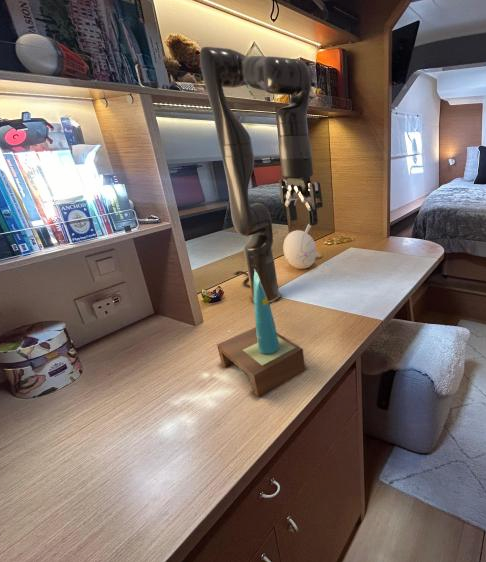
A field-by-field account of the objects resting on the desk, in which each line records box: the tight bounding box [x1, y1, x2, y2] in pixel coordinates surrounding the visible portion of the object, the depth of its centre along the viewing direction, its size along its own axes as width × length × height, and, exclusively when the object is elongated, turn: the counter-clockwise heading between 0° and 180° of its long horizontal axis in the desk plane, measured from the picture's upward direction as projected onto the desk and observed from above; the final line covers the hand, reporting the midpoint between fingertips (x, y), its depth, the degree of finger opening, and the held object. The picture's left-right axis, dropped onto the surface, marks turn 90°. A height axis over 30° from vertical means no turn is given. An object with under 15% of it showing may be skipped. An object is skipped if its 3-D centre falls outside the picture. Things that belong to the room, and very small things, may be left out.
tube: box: [253, 269, 279, 354], centre depth 77 cm, size 7×5×19 cm, turn 29°
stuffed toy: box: [282, 223, 323, 270], centre depth 147 cm, size 19×14×25 cm
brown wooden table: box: [216, 326, 306, 398], centre depth 84 cm, size 18×13×6 cm
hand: (303, 222), depth 88 cm, fingers open, 8 cm apart
